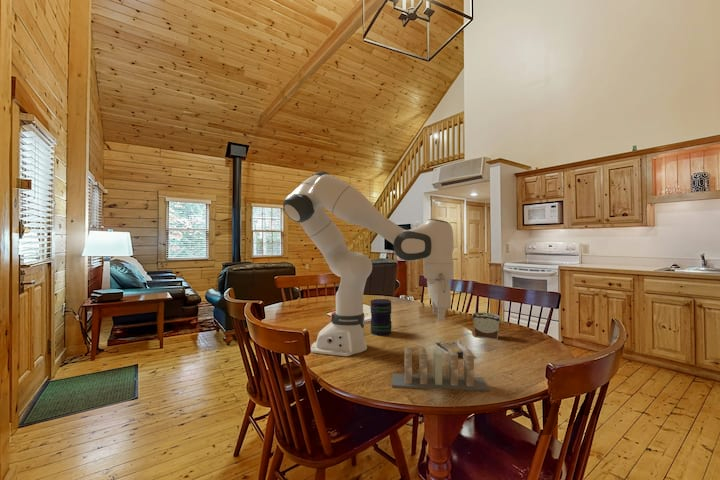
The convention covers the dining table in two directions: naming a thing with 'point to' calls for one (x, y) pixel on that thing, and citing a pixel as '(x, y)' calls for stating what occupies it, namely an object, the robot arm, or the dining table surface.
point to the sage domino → (437, 366)
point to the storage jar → (381, 317)
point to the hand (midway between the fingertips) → (438, 317)
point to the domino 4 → (468, 367)
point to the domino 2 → (423, 366)
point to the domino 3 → (453, 366)
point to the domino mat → (399, 381)
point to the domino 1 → (408, 365)
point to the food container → (486, 325)
